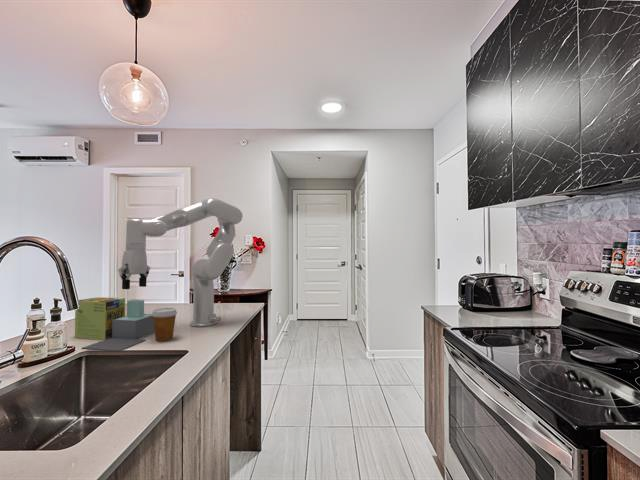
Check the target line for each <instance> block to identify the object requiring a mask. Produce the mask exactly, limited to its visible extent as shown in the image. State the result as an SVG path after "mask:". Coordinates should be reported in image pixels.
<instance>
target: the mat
mask: <svg viewBox="0 0 640 480" xmlns="http://www.w3.org/2000/svg"><path fill="white" fill-rule="evenodd" d="M146 341H147V339H143V338H140V339H123V338H109V339H106V340H101V341H97V342H95V343H91V344H89V345H85V346H84V347H83V346H82V347H81V350H92V351H94V350H95V351H104V352H118V353H119V352H122V351H124V350H127V349H130V348H132V347H134V346H137V345H139V344H142V343H143V342H146Z"/></svg>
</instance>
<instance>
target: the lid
mask: <svg viewBox="0 0 640 480" xmlns="http://www.w3.org/2000/svg"><path fill="white" fill-rule="evenodd" d="M125 316H126V317H122V318H119V319H115V320H129V321H137V320H140V319H143V318H146V317H149V316H152V313H145V300H144V299H143V300H142V299H130V300H127V301H126V315H125Z"/></svg>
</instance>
